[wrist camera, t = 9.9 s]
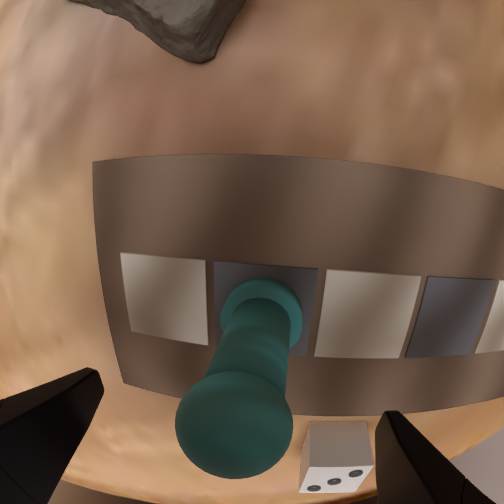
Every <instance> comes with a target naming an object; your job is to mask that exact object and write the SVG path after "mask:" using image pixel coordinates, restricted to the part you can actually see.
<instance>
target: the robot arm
mask: <svg viewBox="0 0 504 504" xmlns="http://www.w3.org/2000/svg"><path fill="white" fill-rule="evenodd" d="M103 394H104V387H103V384H102V381H101V378H100V375H99V372H98V371H97V370H94V369H92V368H88V367H87V368H84V369H81V370H79V371H76V372H74V373H71V374H69V375H66V376H64V377H61V378H58V379H56V380H53V381H51V382H48V383H45V384H43V385H40V386H37V387H35V388H32V389H29V390H27V391H24V392H21V393H18V394H16V395H13V396H10V397H7V398H5V399H1V400H0V504H47V503H48V502H49V500H50V498H51V496H52V494H53V492H54V490H55V488H56V486H57V484H58V482H59V480H60V479H61V477H62V475H63V473H64V471H65V469H66V467H67V466H68V464H69V462H70V460H71V458H72V456H73V455H74V453H75V451H76V449H77V447H78V446H79V444H80V442H81V440H82V439H83V437H84V435H85V433H86V432H87V430H88V428H89V426H90V424H91V421H92V419H93V417H94V414H95V412H96V410H97V408H98V405H99V403H100V401H101V399H102V396H103ZM375 457H376V484H377V493H378V502H379V504H496V503H495V502H493V501H492V500H491V499H489V498H488V497H487V496H486V495H484V494H483V493H482V492H481V491H480V490H479V489H478V488H477V487H475V486H474V485H473V484H472V483H471V482H470V481H469V480H468V479H467V478H466V479H465V476H464V475H463V474H462V473H461V472H460V471H459V470H458V469H456V467H455V466H454V465H453V464H452V463H451V462H450V461H449V460H448V459H447V458H446V457H445V456H444V455H443V454H442V453H441V452H440V451H439V450H438V449H436V448H435V447H434V446H433V445H432V444H431V443H430V442H429V441H428V440H427V439H426V438H425V437H424V436H423V435H422V434H421V433H420V432H419V431H418V430H417V429H416V428H415V427H414V426H413V425H412V424H411V423H410V422H409V421H408V420H407V419H406V418H405V417H404V416H403V415H402V414H401V413H400V412H399V411H398V410H388V411H385V412H384V413H383V414H382V417H381V419H380V421H379V423H378V425H377V427H376V430H375Z"/></svg>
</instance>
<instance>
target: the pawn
mask: <svg viewBox="0 0 504 504" xmlns="http://www.w3.org/2000/svg"><path fill="white" fill-rule="evenodd" d="M220 323H221V328H222V331H223V336H222V338H221V341H220V343H219V345H218V347H217V349H216V352H215V354H214V356H213V358H212V360H211V363H210V365H209V367H208V369H207V371H206V374H205V376H204V378H203V379H202V380H200V381H199V382H197V383H196V384H195V385H193V386H192V387H191V388H190V389H189V390H188V391H187V393H186V394H185V395H184V397H183V398H182V400H181V402H180V404H179V406H178V409H177V413H176V419H175V429H176V435H177V439H178V442H179V444H180V447H181V448H182V450H183V452H184V453H185V455H186V456H187V457H188V458H189V459H190V461H191V462H192V463H194V464H195V465H196V466H197V467H199V468H200V469H202V470H203V471H205V472H207V473H209V474H212V475H214V476H218V477H222V478H227V479H242V478H249V477H253V476H256V475H259V474H261V473H263V472H265V471H267V470H268V469H270V468H271V467H273V466H274V465H275V464H276V463H277V462H278V461H279V460H280V459H281V458H282V457H283V455H284V454H285V452H286V451H287V449H288V447H289V444H290V441H291V439H292V433H293V419H292V414H291V410H290V408H289V405H288V403H287V401H286V400H285V393H286V382H287V370H288V357H289V349H290V348H291V347H292V346H293V345H294V344H295V343H296V342H297V341H298V339H299V337H300V334H301V331H302V307H301V303H300V301H299V299H298V297H297V295H296V294H295V293H294V291H293V290H292V289H290V288H289V287H288V286H287V285H285V284H284V283H282V282H280V281H277V280H274V279H270V278H253V279H249V280H247V281H244V282H242V283H240V284H239V285H238V286H236V287H235V288H234V289H233V290H232V292H231V293H230V295H229V297H228V298H227V300H226V302H225V304H224V306H223V308H222V311H221V315H220Z"/></svg>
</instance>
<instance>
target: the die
mask: <svg viewBox="0 0 504 504" xmlns="http://www.w3.org/2000/svg"><path fill="white" fill-rule="evenodd" d="M373 466H374V463H373V456H372V450H371V444H370V438H369V432H368V427H367V422H324V421H310V424H309V427H308V431H307V434H306V437H305V441H304V444H303V447H302V450H301V463H300V478H299V493H342V492H355V491H356V490H357V488H358V487H359V486H360V484H361V483H362V482H363V480H364V479H365V477H366V476H367V475H368V473H369V472H370V470H371V469H372V467H373Z"/></svg>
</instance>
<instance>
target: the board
mask: <svg viewBox="0 0 504 504" xmlns="http://www.w3.org/2000/svg"><path fill="white" fill-rule="evenodd" d="M93 205H94V221H95V233H96V244H97V253H98V261H99V269H100V276H101V283H102V289H103V295H104V301H105V307H106V312H107V317H108V322H109V327H110V331H111V336H112V340H113V344H114V349H115V353H116V357H117V361H118V364H119V368H120V372H121V375H122V379H123V382H124V383H125V384H129V385H132V386H135V387H139V388H142V389H146V390H150V391H153V392H157V393H161V394H165V395H169V396H174V397H178V398H183V397H184V395H185V394H186V393H187V391H188V390H189V389H190V388H191V387H192V386H193V385H195V384H196V383H197V382H199V381H200V380H202V379H203V378H204V376H205V374H206V371H207V369H208V367H209V365H210V363H211V360H212V358H213V356H214V354H215V352H216V349H217V347H218V345H219V343H220V341H221V338H222V336H223V331H222V328H221V323H220V315H221V311H222V308H223V306H224V304H225V302H226V300H227V298H228V297H229V295H230V293H231V292H232V290H233V289H234V288H235V287H236V286H238V285H239V284H240V283H242V282H244V281H247V280H249V279H253V278H270V279H274V280H277V281H280V282H282V283H284V284H285V285H287V286H288V287H289V288H290V289H292V290H293V291H294V293H295V294H296V295H297V297H298V299H299V301H300V303H301V307H302V331H301V334H300V337H299V339H298V341H297V342H296V343H295V344H294V345H293V346H292V347H291V348H290V349H289V357H288V370H287V382H286V393H285V400H286V401H287V403H288V405H289V408H290V410H291V414H294V415H311V416H377V415H382V414H383V413H384V412H385V411H388V410H398V411H399V412H400V413H401V414H406V413H416V412H425V411H433V410H440V409H447V408H453V407H458V406H464V405H469V404H474V403H479V402H483V401H488V400H492V399H496V398H500V397H504V190H503V189H499V188H495V187H492V186H488V185H484V184H480V183H476V182H471V181H467V180H463V179H458V178H453V177H449V176H444V175H439V174H434V173H428V172H423V171H417V170H411V169H405V168H399V167H392V166H385V165H378V164H371V163H363V162H354V161H345V160H335V159H323V158H311V157H296V156H278V155H248V154H197V155H168V156H150V157H135V158H123V159H112V160H103V161H94V162H93Z"/></svg>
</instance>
